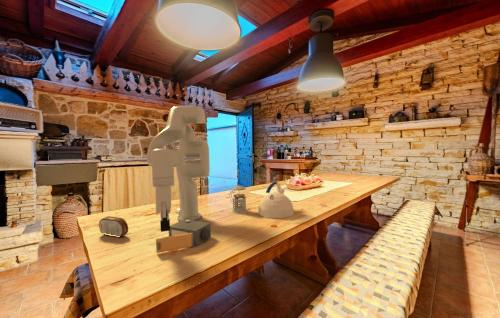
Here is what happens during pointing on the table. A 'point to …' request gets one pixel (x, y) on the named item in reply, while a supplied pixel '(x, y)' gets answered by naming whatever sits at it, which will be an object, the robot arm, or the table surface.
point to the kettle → (275, 204)
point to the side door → (174, 242)
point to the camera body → (192, 230)
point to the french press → (239, 200)
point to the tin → (113, 226)
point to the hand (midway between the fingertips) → (165, 230)
